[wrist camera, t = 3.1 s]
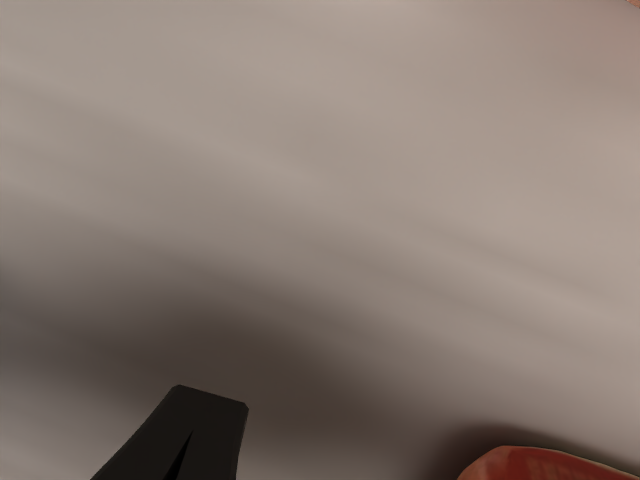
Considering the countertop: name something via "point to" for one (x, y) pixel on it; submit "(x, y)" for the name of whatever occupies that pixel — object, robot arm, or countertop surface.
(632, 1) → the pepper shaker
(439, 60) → the countertop surface
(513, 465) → the snack package
